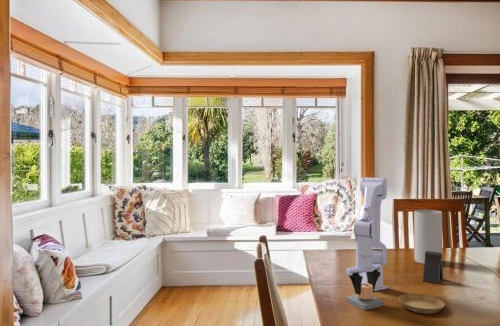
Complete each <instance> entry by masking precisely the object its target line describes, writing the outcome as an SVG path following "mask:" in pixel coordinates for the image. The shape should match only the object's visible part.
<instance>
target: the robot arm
mask: <svg viewBox="0 0 500 326" xmlns="http://www.w3.org/2000/svg"><path fill="white" fill-rule="evenodd" d="M359 182H360V183H359V188H360V192H361V195H362V196H363V205H361V206H360V207H359V211H358V217H357V221H355V222H354V225H353V234H354V242H355V266H351V267H347V268H345V272H346V275H347V276H348V277H349V279H350V281H351V283H352V286H353V289H354V294H355V295H356V294H358V295H360V293H361V283H369V284H371V285H372V286H373V293H374V292H377V291H381V290H382V291H383V290H387V289H389V288H388V286H385V285H384V266H386V265H387V261H388V260H387V259H388V253H387V247H386V245H385V244H384V243H383V242H382V241H381V240H380V237H381V236H380V235H381V232H380V231H381V205H382V202H383V201H384V200H386V199H387V196H388V180H387V178H386V177H363V176H362V177H361V178H360V181H359Z"/></svg>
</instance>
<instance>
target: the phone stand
mask: <svg viewBox="0 0 500 326" xmlns="http://www.w3.org/2000/svg"><path fill="white" fill-rule="evenodd" d="M423 265H424V267H423V277H422V282H425V283H429V284H436V285H439V284H441V282H443V280H444V279H445V278H444V267H443V252H442V253H439V252H431V251H426V252H425V264H423Z"/></svg>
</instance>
